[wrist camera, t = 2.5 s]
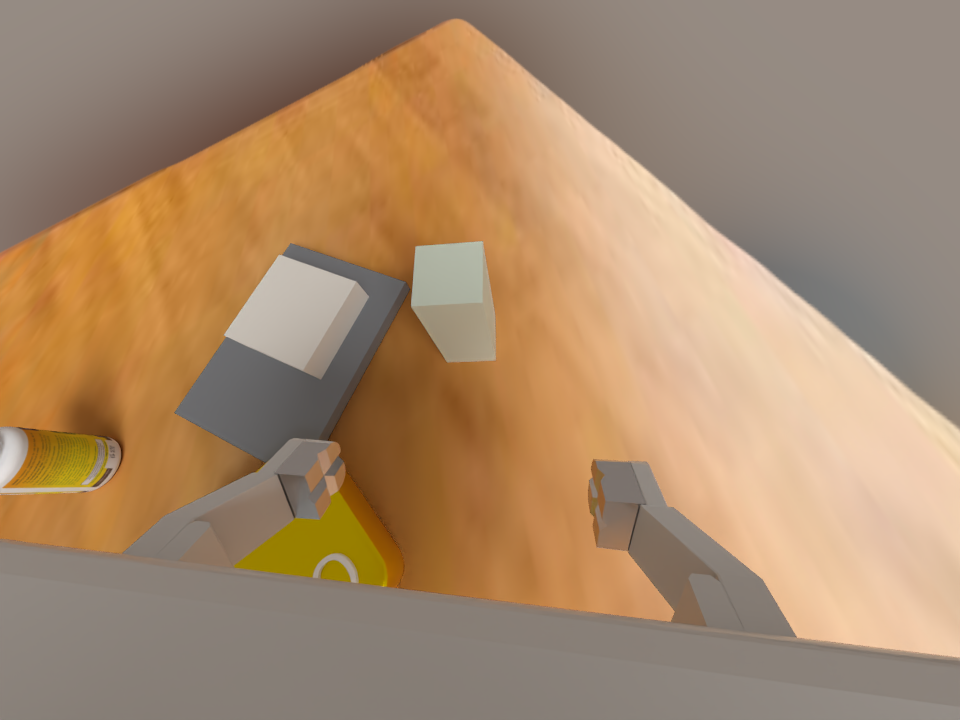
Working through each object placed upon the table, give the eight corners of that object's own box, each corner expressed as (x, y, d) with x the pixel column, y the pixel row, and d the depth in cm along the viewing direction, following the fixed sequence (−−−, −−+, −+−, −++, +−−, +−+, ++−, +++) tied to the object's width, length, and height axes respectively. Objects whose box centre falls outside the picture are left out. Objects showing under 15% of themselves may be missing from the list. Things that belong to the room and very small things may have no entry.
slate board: (305, 479, 33) (273, 479, 28) (187, 415, 36) (143, 407, 32) (410, 289, 38) (395, 265, 34) (298, 251, 42) (273, 225, 38)
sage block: (496, 360, 34) (482, 302, 23) (447, 362, 35) (410, 306, 24) (495, 315, 36) (482, 241, 25) (448, 318, 37) (415, 246, 25)
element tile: (325, 438, 34) (295, 431, 30) (415, 569, 29) (395, 585, 25) (198, 547, 32) (145, 558, 28) (271, 707, 27) (222, 752, 23)
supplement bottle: (125, 428, 37) (-16, 410, 27) (125, 479, 35) (-26, 479, 25) (76, 449, 37) (-82, 438, 27) (73, 501, 35) (-98, 509, 25)
